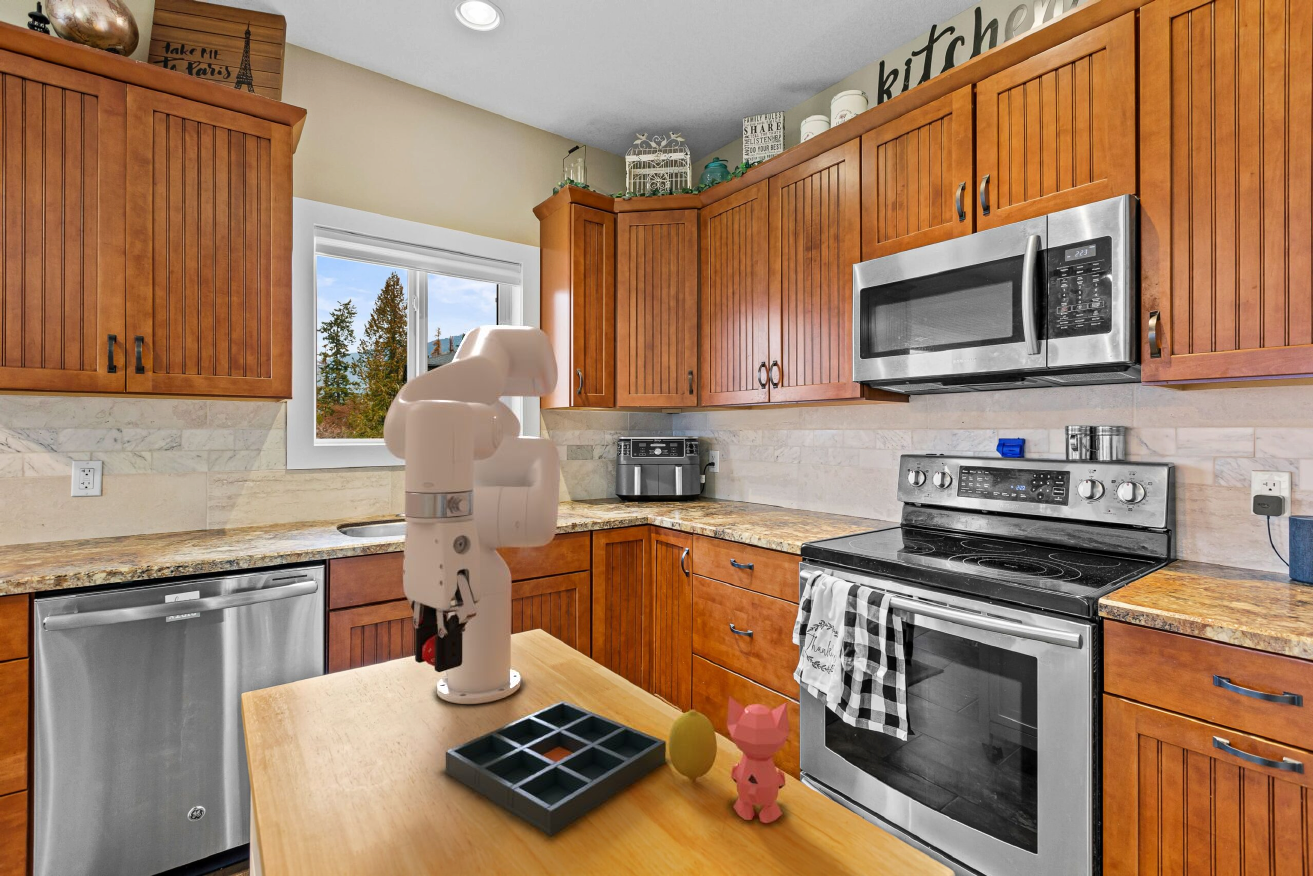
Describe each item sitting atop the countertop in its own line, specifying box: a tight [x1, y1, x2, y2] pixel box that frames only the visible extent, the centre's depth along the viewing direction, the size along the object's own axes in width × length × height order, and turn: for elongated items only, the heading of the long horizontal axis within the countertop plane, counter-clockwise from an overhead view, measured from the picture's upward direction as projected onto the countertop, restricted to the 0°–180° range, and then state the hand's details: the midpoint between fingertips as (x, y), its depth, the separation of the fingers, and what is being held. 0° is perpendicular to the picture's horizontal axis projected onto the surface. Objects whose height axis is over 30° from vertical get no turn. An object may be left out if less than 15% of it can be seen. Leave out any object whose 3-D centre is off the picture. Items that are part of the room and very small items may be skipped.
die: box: [422, 634, 439, 667], centre depth 71 cm, size 4×3×4 cm
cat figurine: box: [726, 695, 792, 824], centre depth 64 cm, size 7×7×12 cm
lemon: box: [668, 709, 718, 782], centre depth 71 cm, size 6×6×8 cm
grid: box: [444, 700, 667, 837], centre depth 73 cm, size 18×18×2 cm
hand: (438, 662), depth 72 cm, fingers closed on die, 3 cm apart
